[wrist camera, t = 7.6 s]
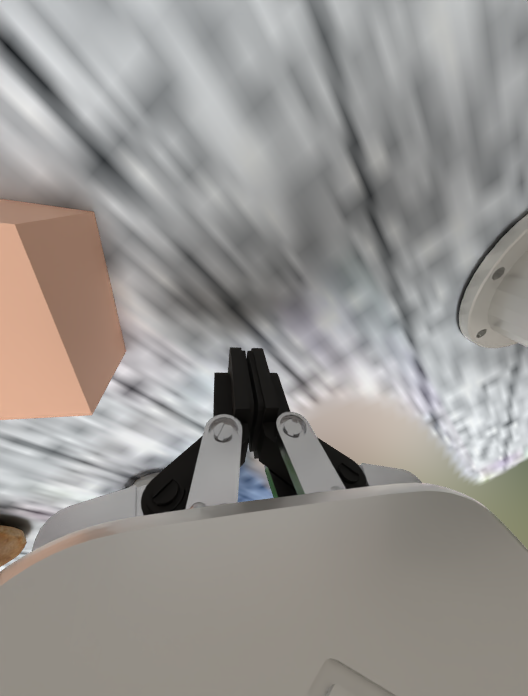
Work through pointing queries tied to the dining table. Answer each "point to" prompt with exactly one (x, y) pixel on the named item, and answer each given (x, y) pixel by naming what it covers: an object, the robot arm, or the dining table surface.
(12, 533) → the tan boot-shaped piece
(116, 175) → the dining table surface
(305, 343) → the dining table surface
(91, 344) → the brick
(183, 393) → the dining table surface
